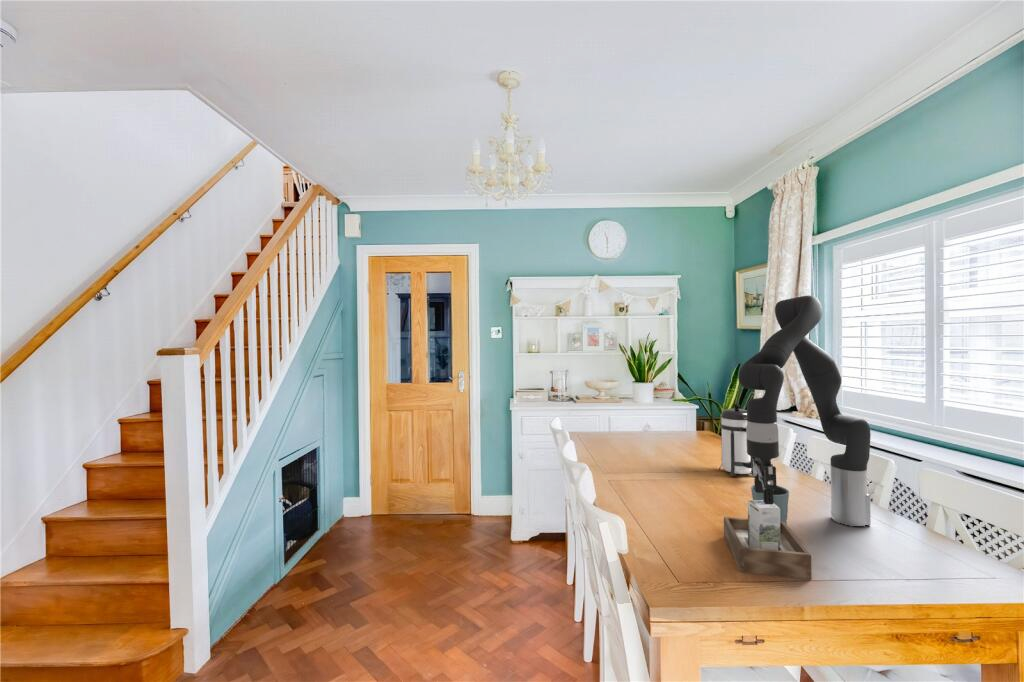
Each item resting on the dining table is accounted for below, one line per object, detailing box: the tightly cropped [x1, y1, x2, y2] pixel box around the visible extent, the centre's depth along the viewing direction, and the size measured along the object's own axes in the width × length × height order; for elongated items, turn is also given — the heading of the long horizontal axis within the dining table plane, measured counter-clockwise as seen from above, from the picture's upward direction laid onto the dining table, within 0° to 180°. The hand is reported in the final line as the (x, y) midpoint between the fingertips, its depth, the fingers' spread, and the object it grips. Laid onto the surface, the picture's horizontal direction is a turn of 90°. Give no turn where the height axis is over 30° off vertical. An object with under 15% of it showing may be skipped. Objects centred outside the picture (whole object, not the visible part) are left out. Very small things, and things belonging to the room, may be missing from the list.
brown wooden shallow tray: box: [723, 516, 813, 580], centre depth 121 cm, size 16×20×6 cm
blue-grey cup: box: [750, 483, 790, 525], centre depth 139 cm, size 10×10×12 cm
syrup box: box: [747, 499, 780, 550], centre depth 121 cm, size 6×6×14 cm
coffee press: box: [718, 402, 753, 479], centre depth 190 cm, size 17×16×30 cm
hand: (763, 497), depth 121 cm, fingers open, 8 cm apart
